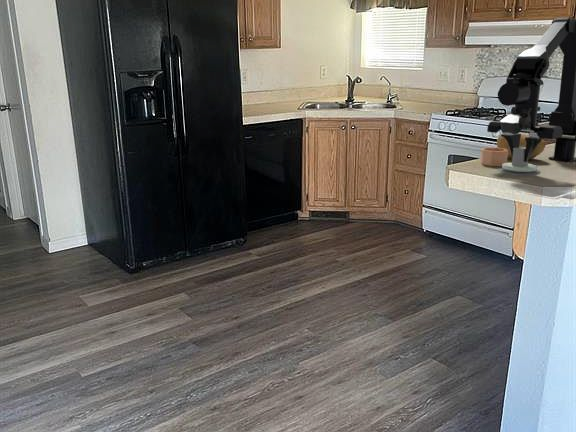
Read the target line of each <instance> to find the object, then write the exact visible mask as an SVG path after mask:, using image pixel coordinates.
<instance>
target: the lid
mask: <svg viewBox="0 0 576 432" xmlns="http://www.w3.org/2000/svg"><path fill="white" fill-rule="evenodd" d="M525 149H526V147H521V146H519V147H514V148H513V158H512V159H511V162H507V163H504V164H502V166H501V168H503V169H505V170H509V171H516V172H533V171H537V170H538V165H535V164H533V163H529V161H528V162H524V156H525Z"/></svg>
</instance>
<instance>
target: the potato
mask: <svg viewBox="0 0 576 432" xmlns="http://www.w3.org/2000/svg"><path fill="white" fill-rule="evenodd" d="M520 134H521V138H520V144H519V146H521V147H526V140H525V138H526V137H529V136H530V134H525V133H520ZM496 148H504V149H507V150H508V158H507V159H510V160H512V155H511V151H510V147H509V144H508V142H507V140H506V139H505V138H504V137H502V136H501V134H500V135H499V136H498V137H497V140H496ZM545 148H546V142H545V140H544V139H542V140H541V141H540V143H539V144H538V145H537V147H536V148H535V150H534V152H533V153H532V155H531V157H530V158H529V160H533V159H535V158H536V157H537V156H539V155H541V154H542V153H543V152H544V151H545ZM529 160H528V161H529Z"/></svg>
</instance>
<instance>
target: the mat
mask: <svg viewBox="0 0 576 432" xmlns="http://www.w3.org/2000/svg"><path fill="white" fill-rule="evenodd" d="M497 171H498V172H500V173H503V174H506V175H515V176H536V175H541V173H542V171H540V170H538V169H537V171H533V172H516V171H509V170H505V169H503V168H502V167H499V168H497Z"/></svg>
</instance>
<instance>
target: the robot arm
mask: <svg viewBox="0 0 576 432" xmlns="http://www.w3.org/2000/svg"><path fill="white" fill-rule="evenodd" d="M558 48H560V51H561V53H562V54H563V59H562V66H561V67H562V69H561V75H560V76H561V77H560V86H559V97H558V104H557V107H556V108H555V109H554V111H551V112H550V114H549V117H550V118H549V122H548V124H547V125H541V126H539V122H537V118H538V117H537V116H538V112H540V111H541V106H539V101H540V93H541V92H540V91H541V86H544V81H543V80H542V78H543V76H544V75H545V74H546V72H547V70H548V69H549V67H550V61H549V59H550V58H551V57H552V55H553V54H554V52H555V51H556V50H557V49H558ZM505 82H506V83H504V84H502V85H501V86H500V88H499V90H498V91H497V99H498V101H499V103H500V104H502V105H503V106H506V107H509V106H510V107H511V106H512V107H511V109H510V113H509V114H508V115H506V116H505V117H503V118H502V119H501V120H500V119H499V120H494V121H490V122H488V124H487V129H486V130H487V131H486V132H487V133H494V134H497V133H498V132H501V133H502V134H500V135H501V136H502V137H504V138H505V139H506V140H507V142H508V144H509V147H510V151H511V155H512V158H513V148H514V147H519V144H520V138H521V134H529V137H526V138H525V140H526V149H525V156H524V162H528V163H529V158H530V157H531V155H532V153H533V152H534V150H535V148H536V147H537V145H538V144H539V143H540V141H541V140H542V139H543V140H544V139H545V140H546V139H547V140H555V141H554V142H555V143H554V151H553V156H548V159H549V160H555V161H561V162H574V161H576V156H575V155H576V19H575V18H572V17H571V16H570V17H556V18H554V19H553V20H552V21H551V25H550V26H549V27H548V28H547V30H546V31H545V32H544V33H543V35H542V36H541V37H540V38H539V40H538V41H537V42H536V43H535V45H534V46H533V47H530V48H528V49H527V48H526V49H525V50H524V51H522V52H521V53H520V54H519V55H518V56H517V57H516V58H515V60H514V62H513V64H512V67H511V69H510V71H509V74H508V75H507V77H506V81H505ZM538 126H539V127H538Z"/></svg>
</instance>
